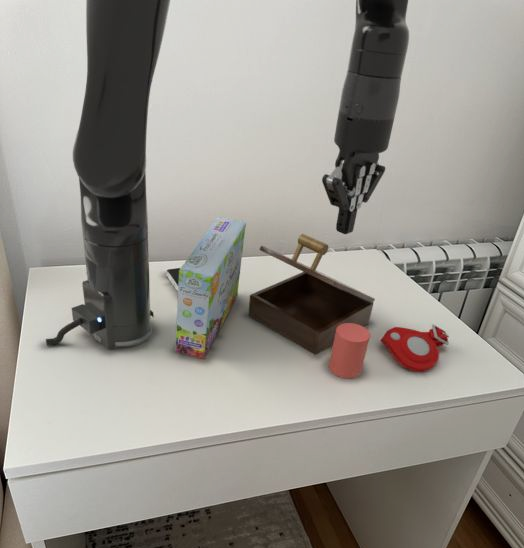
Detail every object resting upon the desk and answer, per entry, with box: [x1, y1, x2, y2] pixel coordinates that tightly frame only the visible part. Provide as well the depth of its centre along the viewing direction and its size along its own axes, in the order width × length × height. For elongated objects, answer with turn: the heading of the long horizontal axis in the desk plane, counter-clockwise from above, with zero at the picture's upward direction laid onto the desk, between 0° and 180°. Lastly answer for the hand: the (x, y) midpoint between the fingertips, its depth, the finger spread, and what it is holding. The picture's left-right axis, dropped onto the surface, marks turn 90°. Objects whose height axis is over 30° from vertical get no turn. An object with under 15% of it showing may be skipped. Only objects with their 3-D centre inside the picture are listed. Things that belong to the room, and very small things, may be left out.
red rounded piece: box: [380, 324, 450, 373], centre depth 90 cm, size 12×4×10 cm
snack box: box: [174, 216, 247, 360], centre depth 88 cm, size 21×6×15 cm, turn 168°
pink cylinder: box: [328, 323, 371, 379], centre depth 83 cm, size 5×5×7 cm
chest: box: [248, 271, 374, 356], centre depth 95 cm, size 16×16×4 cm
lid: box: [259, 233, 376, 304], centre depth 91 cm, size 16×16×5 cm
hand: (344, 231), depth 82 cm, fingers closed
